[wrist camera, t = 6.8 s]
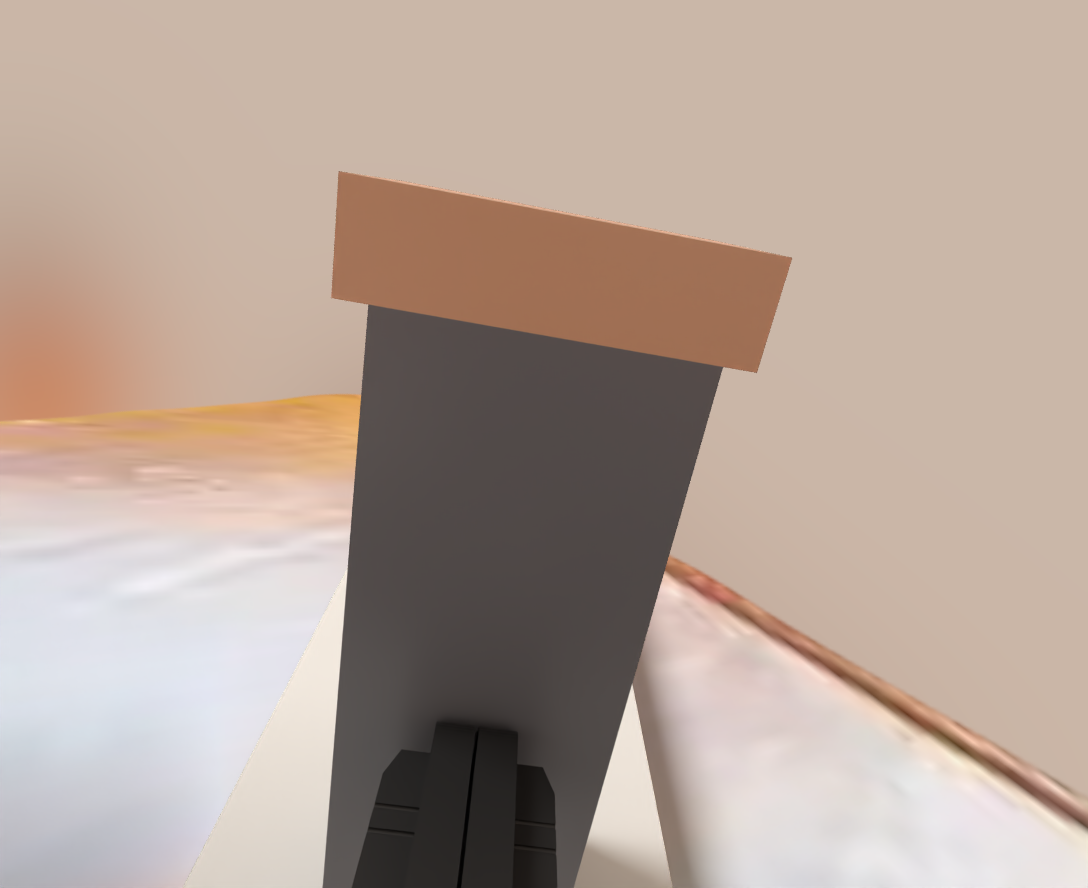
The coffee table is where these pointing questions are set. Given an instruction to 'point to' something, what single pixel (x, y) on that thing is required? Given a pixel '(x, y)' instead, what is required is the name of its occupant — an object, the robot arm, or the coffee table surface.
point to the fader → (517, 474)
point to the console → (305, 779)
